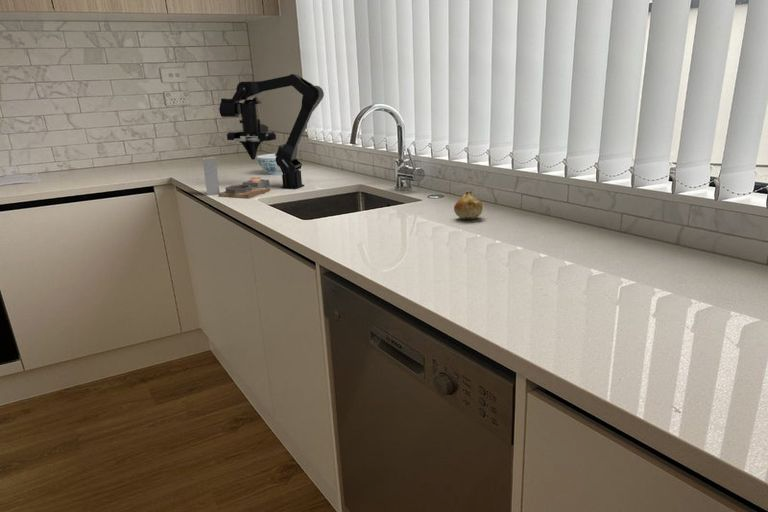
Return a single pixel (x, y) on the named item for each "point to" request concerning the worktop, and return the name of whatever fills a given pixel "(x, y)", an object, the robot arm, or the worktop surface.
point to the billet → (211, 176)
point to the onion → (468, 206)
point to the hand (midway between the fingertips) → (253, 159)
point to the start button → (255, 179)
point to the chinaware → (269, 164)
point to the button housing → (257, 183)
